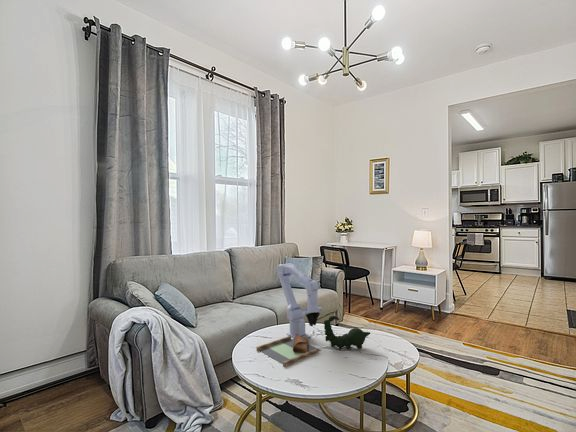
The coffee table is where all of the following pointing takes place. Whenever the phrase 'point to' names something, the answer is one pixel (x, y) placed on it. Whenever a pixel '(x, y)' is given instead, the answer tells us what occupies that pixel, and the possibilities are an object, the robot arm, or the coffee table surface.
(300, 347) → the sunglasses case
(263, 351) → the zone mats
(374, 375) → the coffee table surface
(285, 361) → the lane rails
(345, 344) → the toy figurine
